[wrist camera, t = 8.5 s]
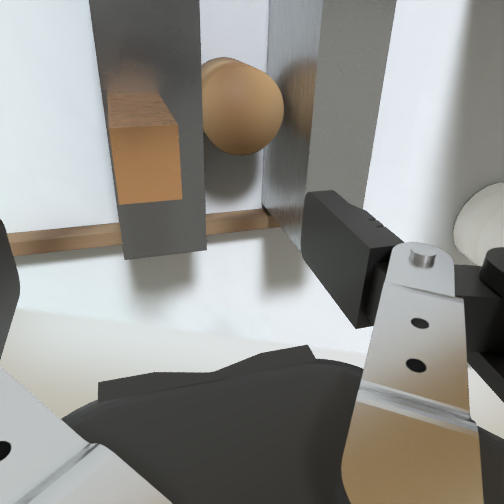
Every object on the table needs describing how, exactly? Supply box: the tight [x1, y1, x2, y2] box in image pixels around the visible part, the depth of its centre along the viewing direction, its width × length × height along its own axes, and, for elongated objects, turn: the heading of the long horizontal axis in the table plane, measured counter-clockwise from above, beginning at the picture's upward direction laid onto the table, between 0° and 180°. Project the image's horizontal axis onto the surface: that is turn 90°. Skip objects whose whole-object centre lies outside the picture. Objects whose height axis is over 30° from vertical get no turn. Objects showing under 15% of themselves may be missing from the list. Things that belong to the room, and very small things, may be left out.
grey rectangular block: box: [262, 0, 397, 251], centre depth 28 cm, size 4×16×8 cm, turn 179°
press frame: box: [7, 208, 281, 256], centre depth 28 cm, size 23×19×2 cm
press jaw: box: [89, 0, 207, 260], centre depth 22 cm, size 5×16×13 cm, turn 179°
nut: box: [201, 57, 284, 155], centre depth 28 cm, size 5×5×5 cm
